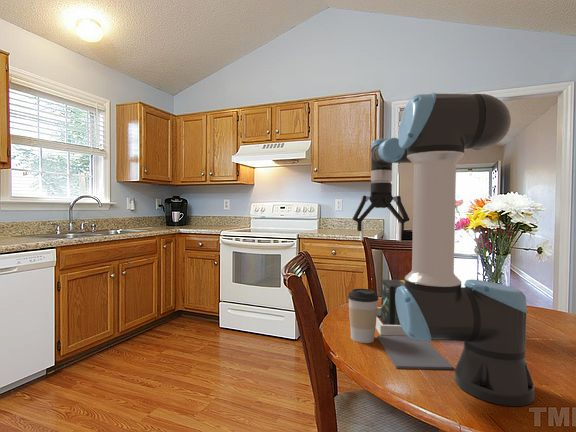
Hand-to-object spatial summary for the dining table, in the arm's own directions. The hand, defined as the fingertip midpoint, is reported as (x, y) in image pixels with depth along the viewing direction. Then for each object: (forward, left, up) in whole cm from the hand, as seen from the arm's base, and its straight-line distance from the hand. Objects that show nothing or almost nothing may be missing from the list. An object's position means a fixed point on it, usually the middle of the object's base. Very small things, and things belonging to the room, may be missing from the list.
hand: (380, 240), depth 124 cm
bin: (-9, -4, -28) cm, 30 cm away
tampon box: (-9, -4, -28) cm, 30 cm away
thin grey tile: (-31, -1, -28) cm, 42 cm away
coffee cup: (-22, +10, -28) cm, 37 cm away
